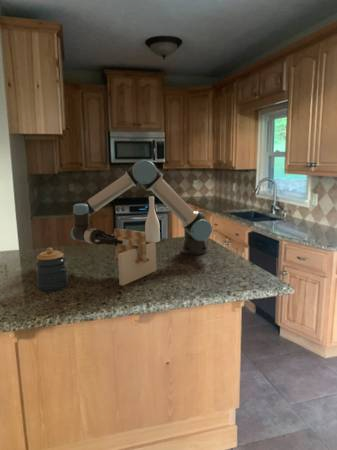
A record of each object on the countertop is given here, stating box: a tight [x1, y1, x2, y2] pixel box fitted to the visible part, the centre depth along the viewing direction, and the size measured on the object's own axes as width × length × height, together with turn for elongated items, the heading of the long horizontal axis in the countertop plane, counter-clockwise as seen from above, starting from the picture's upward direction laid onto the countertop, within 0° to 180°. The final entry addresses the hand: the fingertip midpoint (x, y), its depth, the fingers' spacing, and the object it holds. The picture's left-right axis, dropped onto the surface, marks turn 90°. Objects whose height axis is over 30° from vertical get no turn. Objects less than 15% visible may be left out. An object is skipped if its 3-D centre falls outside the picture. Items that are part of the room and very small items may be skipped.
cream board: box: [117, 242, 157, 286], centre depth 158 cm, size 24×2×14 cm, turn 144°
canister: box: [34, 247, 69, 293], centre depth 149 cm, size 13×13×18 cm
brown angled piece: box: [113, 227, 149, 264], centre depth 159 cm, size 18×6×14 cm, turn 54°
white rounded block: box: [144, 196, 161, 244], centre depth 226 cm, size 10×10×30 cm
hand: (130, 242), depth 159 cm, fingers closed on brown angled piece, 2 cm apart
